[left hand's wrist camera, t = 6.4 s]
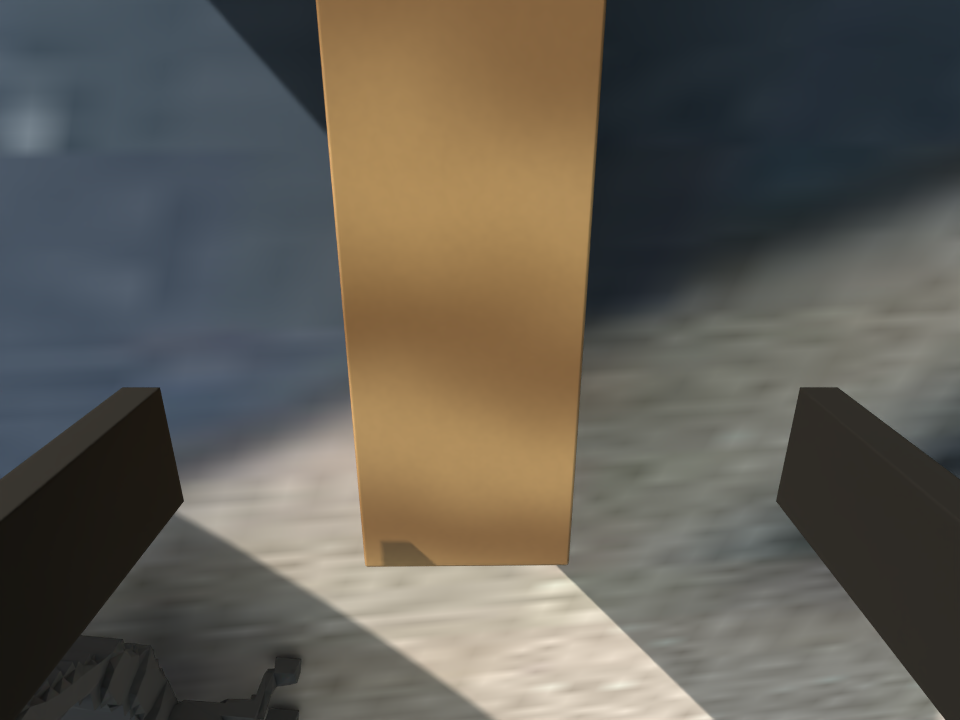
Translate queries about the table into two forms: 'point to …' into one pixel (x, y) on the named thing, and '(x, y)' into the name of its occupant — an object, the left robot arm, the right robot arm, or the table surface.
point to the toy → (139, 688)
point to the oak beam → (463, 266)
